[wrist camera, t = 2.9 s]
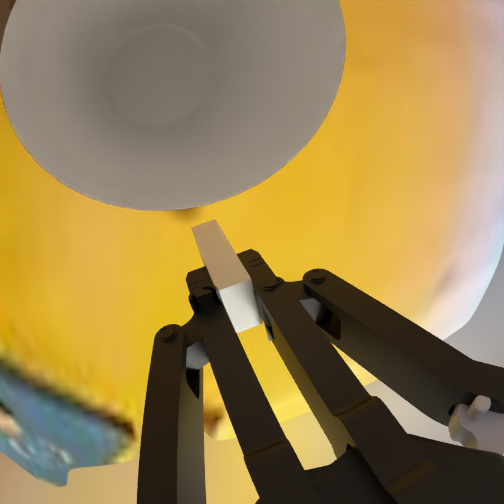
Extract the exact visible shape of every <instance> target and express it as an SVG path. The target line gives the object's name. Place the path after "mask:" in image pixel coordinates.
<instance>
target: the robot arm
mask: <svg viewBox="0 0 504 504" xmlns="http://www.w3.org/2000/svg"><path fill="white" fill-rule="evenodd" d="M192 231H193V234H194V237H195V240H196V243H197V246H198V249H199V252H200V255H201V258H202V261H203V264H204V267H202V268H199V269H196V270H193V271H191V272H188V274H187V277H186V282H187V285H188V289H189V292H190V295H189V302H190V305H191V307H192V309H193V311H194V315H193V317H192V318H191V319H190V321H189V322H187V323H186V324H185V325H183V326H179V325H177V324H170V325H167V326H164V327H163V328H161V329H160V330H159V331H158V332H157V333H156V335H155V338H154V344H153V351H152V357H151V363H150V370H149V377H148V384H147V392H146V400H145V408H144V417H143V426H142V435H141V446H140V459H139V471H138V488H137V504H206V489H205V464H204V426H203V366H204V365H206V364H207V363H209V362H210V364H211V367H212V370H213V373H214V376H215V379H216V382H217V384H218V387H219V390H220V393H221V396H222V399H223V401H224V404H225V407H226V410H227V412H228V415H229V418H230V420H231V423H232V426H233V428H234V431H235V434H236V436H237V438H238V441H239V444H240V446H241V449H242V452H243V455H244V461H245V464H246V466H247V469H248V471H249V474H250V476H251V479H252V481H253V483H254V486H255V488H256V490H257V493H258V495H259V497H260V498H259V499H258V500H257V502H256V503H255V504H504V456H503V453H504V368H502V367H498V366H494V365H490V364H486V363H482V362H478V361H475V360H472V359H471V358H469V357H467V356H466V355H464V354H463V353H461V352H460V351H458V350H456V349H455V348H453V347H452V346H450V345H449V344H447V343H445V342H444V341H442V340H441V339H439V338H437V337H436V336H434V335H433V334H431V333H429V332H428V331H426V330H425V329H423V328H421V327H420V326H418V325H417V324H415V323H413V322H412V321H410V320H409V319H407V318H405V317H404V316H402V315H400V314H399V313H397V312H396V311H394V310H392V309H391V308H389V307H387V306H386V305H384V304H382V303H381V302H379V301H378V300H376V299H374V298H373V297H371V296H369V295H368V294H366V293H364V292H363V291H361V290H359V289H358V288H356V287H354V286H353V285H351V284H349V283H348V282H346V281H344V280H343V279H341V278H339V277H338V276H336V275H334V274H333V273H331V272H329V271H327V270H325V269H312V270H310V271H308V272H306V273H305V274H304V276H303V280H302V281H295V282H285V281H284V280H283V279H282V278H280V277H277V276H275V274H274V273H273V272H272V270H271V269H270V268H269V266H268V265H267V264H266V262H265V261H264V259H263V258H262V257H261V255H260V254H259V253H258V252H257V251H255V250H252V249H249V250H247V251H244V252H241V253H238V254H236V253H235V251H234V250H233V248H232V246H231V245H230V243H229V241H228V240H227V238H226V236H225V235H224V233H223V231H222V230H221V228H220V226H219V225H218V223H217V221H216V220H212V221H209V222H206V223H203V224H200V225H197V226H195V227H192ZM261 318H262V319H261ZM262 320H263V321H264V323H265V327H266V331H267V335H268V339H269V341H271V340H272V342H273V344H274V345H275V347H276V349H277V351H278V353H279V354H280V356H281V358H282V360H283V361H284V363H285V365H286V367H287V369H288V370H289V372H290V374H291V376H292V377H293V379H294V381H295V383H296V384H297V386H298V388H299V390H300V391H301V393H302V395H303V397H304V398H305V400H306V402H307V404H308V405H309V407H310V409H311V410H312V412H313V414H314V416H315V417H316V419H317V421H318V422H319V424H320V426H321V428H322V429H323V431H324V433H325V434H326V436H327V438H328V439H329V441H330V443H331V445H332V447H333V450H334V453H335V455H336V457H337V460H335V461H334V462H333V463H332V464H330V465H327V466H323V467H318V468H314V469H309V470H304V469H303V467H302V465H301V463H300V461H299V459H298V457H297V455H296V453H295V452H294V449H293V448H292V446H291V444H290V442H289V441H288V439H287V438H286V436H285V434H284V432H283V430H282V428H281V427H280V424H279V422H278V420H277V418H276V416H275V414H274V412H273V410H272V408H271V406H270V404H269V402H268V400H267V398H266V396H265V394H264V392H263V389H262V387H261V385H260V383H259V381H258V379H257V377H256V375H255V373H254V370H253V368H252V366H251V364H250V362H249V360H248V358H247V355H246V353H245V351H244V349H243V347H242V344H241V342H240V340H239V338H238V336H237V333H239V332H242V331H244V330H247V329H249V328H252V327H255V326H257V325H260V324H262ZM331 343H332V344H334V345H335V346H336V347H338V348H339V349H340V350H341V351H343V352H344V353H345V354H346V355H348V356H349V357H350V358H352V359H353V360H354V361H355V362H357V363H358V364H359V365H361V366H362V367H363V368H365V369H366V370H367V371H368V372H370V373H371V374H372V375H374V376H375V377H376V378H378V379H379V380H380V381H381V382H383V383H384V384H386V385H387V386H388V387H389V388H391V389H392V390H394V391H395V392H396V393H397V394H398V395H400V396H401V397H403V398H404V399H405V400H407V401H408V402H409V403H410V404H412V405H413V406H414V407H416V408H417V409H418V410H420V411H421V412H422V413H424V414H425V415H427V416H428V417H430V418H431V419H433V420H435V421H437V422H439V423H441V424H443V425H445V426H448V427H449V432H450V437H451V439H452V440H453V441H456V442H457V441H458V442H460V443H462V445H463V446H464V447H463V446H458V445H453V444H448V443H444V442H440V441H436V440H432V439H427V438H424V437H419V436H416V435H412V434H407V433H406V432H405V430H404V429H403V428H402V426H401V425H400V424H399V422H398V421H397V420H396V418H395V417H394V416H393V414H392V413H391V412H390V410H389V409H388V408H387V406H386V405H385V404H384V402H383V401H382V400H381V399H380V398H378V397H377V396H371V395H369V393H368V392H367V391H366V390H365V388H364V387H363V385H362V384H361V383H360V381H359V380H358V379H357V377H356V376H355V375H354V373H353V372H352V371H351V369H350V368H349V367H348V365H347V364H346V363H345V361H344V360H343V359H342V357H341V356H340V354H339V353H338V352H337V350H336V349H335V348H334V346H333V345H332V344H331Z"/></svg>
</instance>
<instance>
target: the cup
mask: <svg viewBox="0 0 504 504" xmlns="http://www.w3.org/2000/svg"><path fill="white" fill-rule="evenodd" d="M344 60H345V28H344V22H343V16H342V11H341V8H340V5H339V1H338V0H16V2H15V4H14V6H13V9H12V11H11V13H10V16H9V19H8V22H7V24H6V28H5V32H4V36H3V40H2V45H1V53H0V85H1V92H2V97H3V101H4V106H5V109H6V112H7V115H8V117H9V120H10V123H11V125H12V127H13V129H14V131H15V133H16V135H17V137H18V138H19V140H20V141H21V143H22V144H23V146H24V147H25V149H26V150H27V151H28V152H29V154H30V155H31V156H32V157H33V158H34V160H35V161H36V162H37V163H38V164H39V165H40V166H41V167H42V168H43V169H45V170H46V171H47V172H48V173H49V174H50V175H51V176H53V177H54V178H56V179H57V180H58V181H60V182H61V183H62V184H64V185H66V186H67V187H69V188H71V189H73V190H74V191H76V192H78V193H80V194H82V195H85V196H87V197H89V198H91V199H94V200H97V201H100V202H103V203H106V204H110V205H114V206H118V207H122V208H129V209H136V210H148V211H168V210H181V209H188V208H195V207H199V206H204V205H208V204H212V203H215V202H218V201H221V200H225V199H227V198H230V197H232V196H235V195H237V194H240V193H242V192H244V191H246V190H248V189H250V188H252V187H254V186H256V185H258V184H259V183H261V182H262V181H264V180H266V179H267V178H269V177H270V176H272V175H273V174H275V173H276V172H277V171H279V170H280V169H281V168H283V167H284V166H285V165H286V164H287V163H288V162H290V161H291V160H292V159H293V158H294V157H295V156H296V155H297V154H298V153H299V152H300V151H301V150H302V149H303V148H304V147H305V146H306V145H307V143H308V142H309V141H310V140H311V138H312V137H313V136H314V135H315V133H316V132H317V130H318V129H319V127H320V126H321V124H322V123H323V121H324V119H325V118H326V116H327V114H328V112H329V110H330V108H331V106H332V104H333V101H334V99H335V97H336V94H337V91H338V88H339V85H340V82H341V77H342V73H343V68H344Z"/></svg>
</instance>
